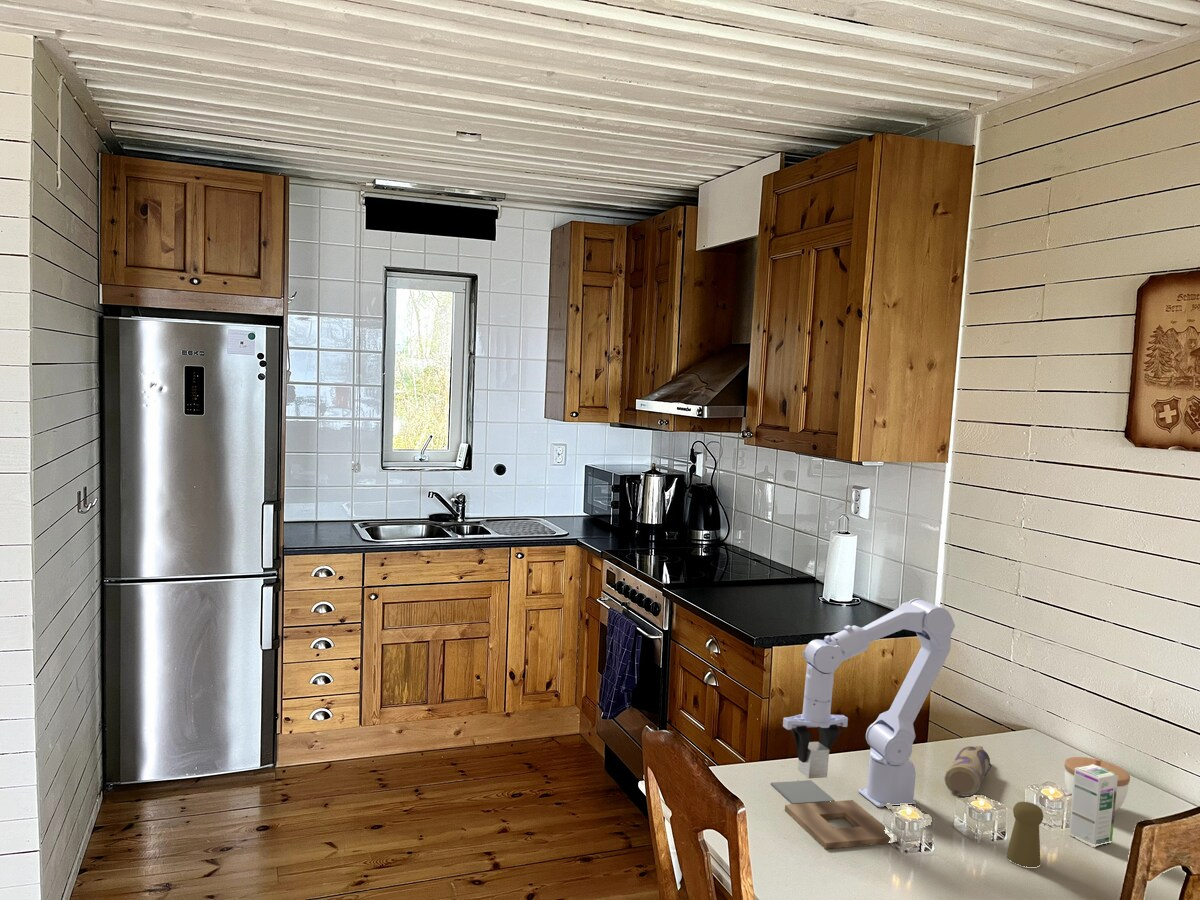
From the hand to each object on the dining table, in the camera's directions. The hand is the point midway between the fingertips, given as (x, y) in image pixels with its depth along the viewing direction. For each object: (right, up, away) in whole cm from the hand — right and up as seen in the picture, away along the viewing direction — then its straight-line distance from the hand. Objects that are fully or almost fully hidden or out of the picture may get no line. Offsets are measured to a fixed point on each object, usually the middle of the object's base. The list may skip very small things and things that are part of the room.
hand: (812, 760), depth 192 cm
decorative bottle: (+42, -11, +18) cm, 46 cm away
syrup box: (+54, -13, -9) cm, 57 cm away
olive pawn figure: (+36, -13, -20) cm, 43 cm away
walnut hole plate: (+3, -10, -11) cm, 15 cm away
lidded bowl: (+63, -13, +6) cm, 65 cm away
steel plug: (0, -3, 0) cm, 3 cm away
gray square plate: (-1, -8, +3) cm, 9 cm away
